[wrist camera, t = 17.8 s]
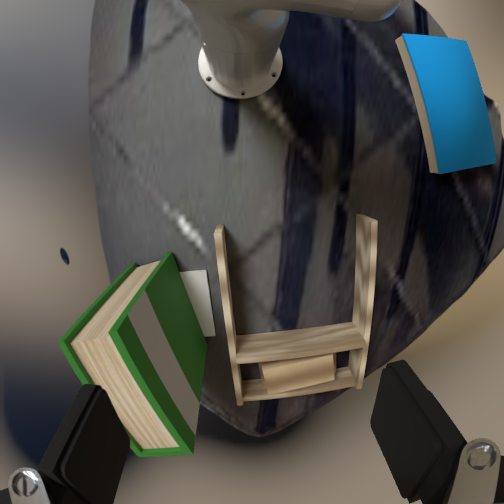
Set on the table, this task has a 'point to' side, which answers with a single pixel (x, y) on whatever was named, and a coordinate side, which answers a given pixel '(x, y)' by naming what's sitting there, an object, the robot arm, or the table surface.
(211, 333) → the mat
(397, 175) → the table surface
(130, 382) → the hardback book
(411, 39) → the book
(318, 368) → the oak offcut
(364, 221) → the rack
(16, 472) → the robot arm
